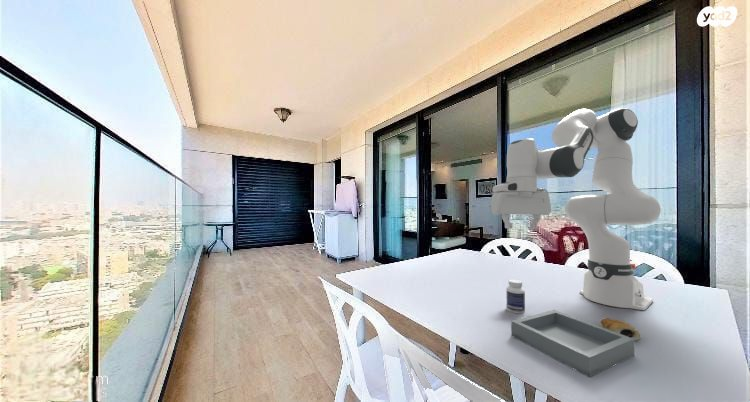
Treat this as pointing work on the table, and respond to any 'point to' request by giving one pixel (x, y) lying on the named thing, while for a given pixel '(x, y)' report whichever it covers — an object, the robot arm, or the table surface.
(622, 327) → the pastry
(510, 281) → the pill bottle
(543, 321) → the tray
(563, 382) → the table surface
